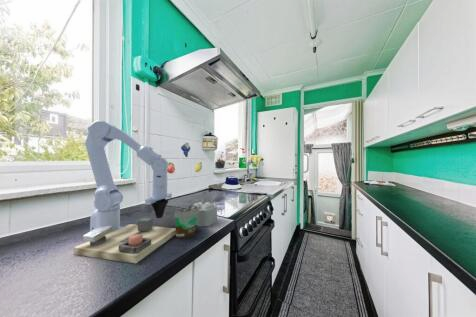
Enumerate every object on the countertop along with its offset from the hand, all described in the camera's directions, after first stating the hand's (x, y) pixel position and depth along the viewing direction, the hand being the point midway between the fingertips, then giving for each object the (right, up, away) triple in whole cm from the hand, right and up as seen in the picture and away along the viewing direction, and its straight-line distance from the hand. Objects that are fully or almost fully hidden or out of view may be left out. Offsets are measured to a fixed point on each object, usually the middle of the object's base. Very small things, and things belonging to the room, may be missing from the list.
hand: (159, 217), depth 71 cm
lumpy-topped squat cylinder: (+17, -5, +7) cm, 19 cm away
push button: (+3, -1, -21) cm, 21 cm away
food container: (+15, -4, -6) cm, 17 cm away
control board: (-3, -4, -14) cm, 15 cm away
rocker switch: (-11, +1, -18) cm, 21 cm away
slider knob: (-2, -2, -8) cm, 8 cm away
